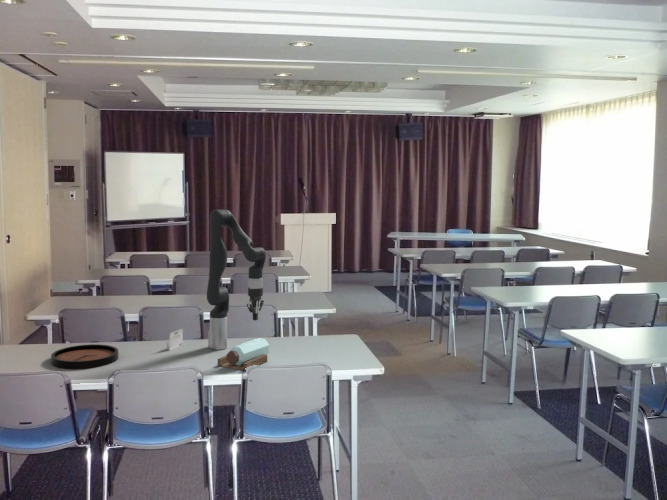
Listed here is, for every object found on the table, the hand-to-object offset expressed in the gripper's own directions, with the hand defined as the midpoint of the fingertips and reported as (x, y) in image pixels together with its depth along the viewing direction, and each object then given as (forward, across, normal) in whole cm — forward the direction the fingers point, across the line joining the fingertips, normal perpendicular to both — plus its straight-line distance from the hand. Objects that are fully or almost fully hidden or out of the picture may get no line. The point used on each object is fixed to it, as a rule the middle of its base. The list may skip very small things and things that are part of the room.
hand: (255, 320), depth 319 cm
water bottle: (+15, -4, +2) cm, 15 cm away
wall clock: (+21, +44, -72) cm, 87 cm away
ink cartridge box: (+20, +5, -48) cm, 52 cm away
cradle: (+20, +11, 0) cm, 23 cm away
